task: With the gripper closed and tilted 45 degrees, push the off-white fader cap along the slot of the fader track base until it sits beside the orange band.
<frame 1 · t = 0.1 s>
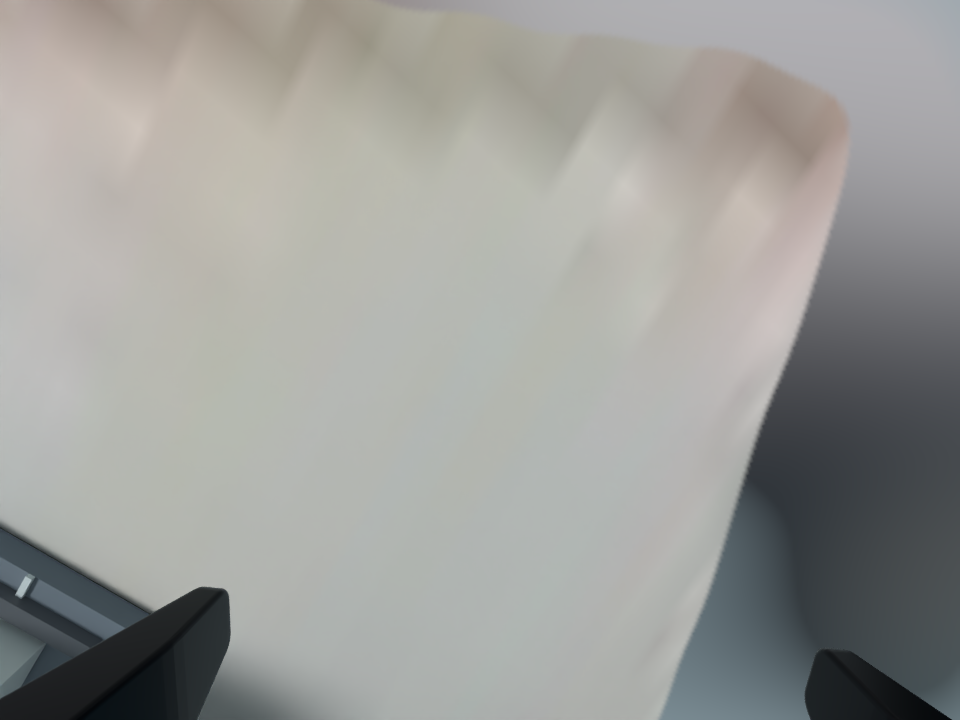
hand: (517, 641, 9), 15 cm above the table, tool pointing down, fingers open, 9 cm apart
fader track base: (11, 632, 27), on the table
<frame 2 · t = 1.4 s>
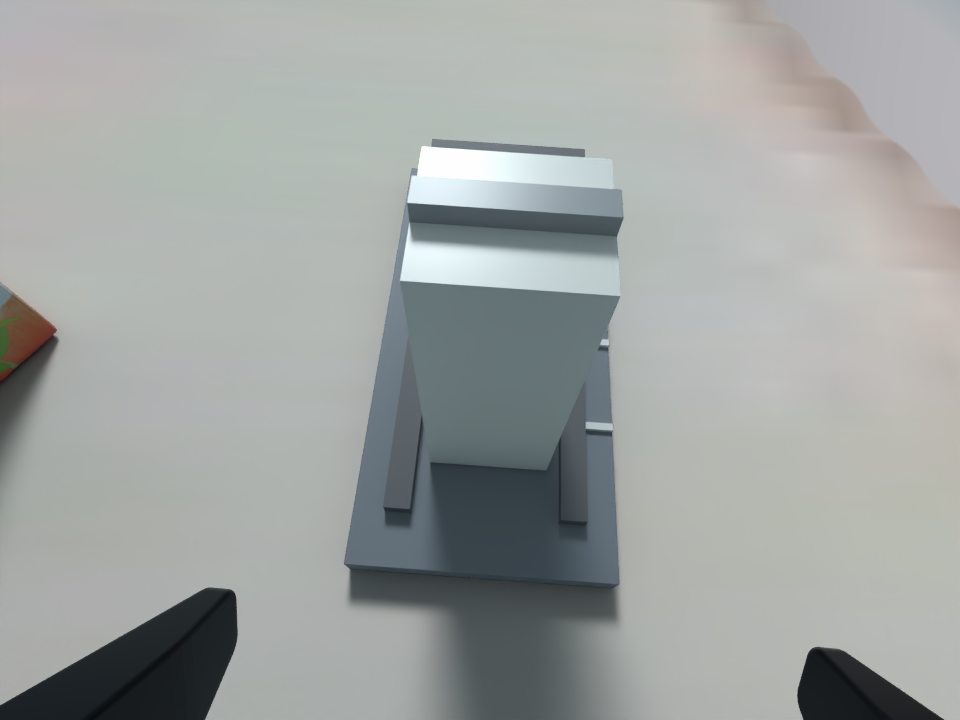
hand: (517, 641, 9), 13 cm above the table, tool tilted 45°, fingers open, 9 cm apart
fader track base: (489, 430, 24), on the table
fader cap: (499, 342, 18), point 8 cm above the table, slide at 0.0 cm
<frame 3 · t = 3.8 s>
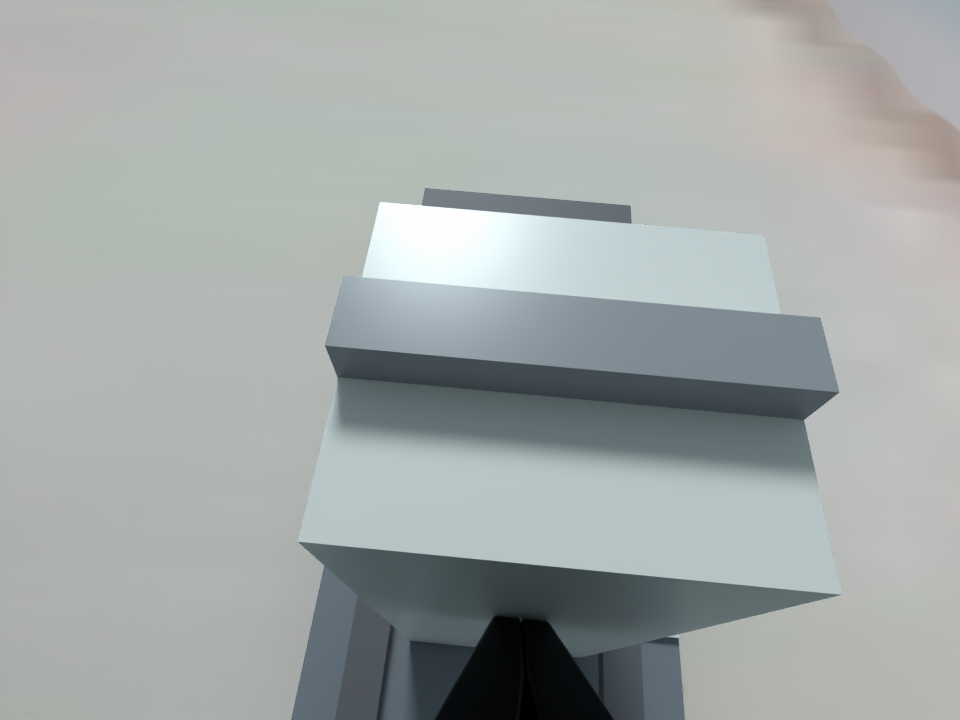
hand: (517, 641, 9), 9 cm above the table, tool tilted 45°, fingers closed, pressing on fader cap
fader track base: (494, 619, 17), on the table
fader cap: (519, 512, 11), point 8 cm above the table, slide at 1.1 cm, touching gripper
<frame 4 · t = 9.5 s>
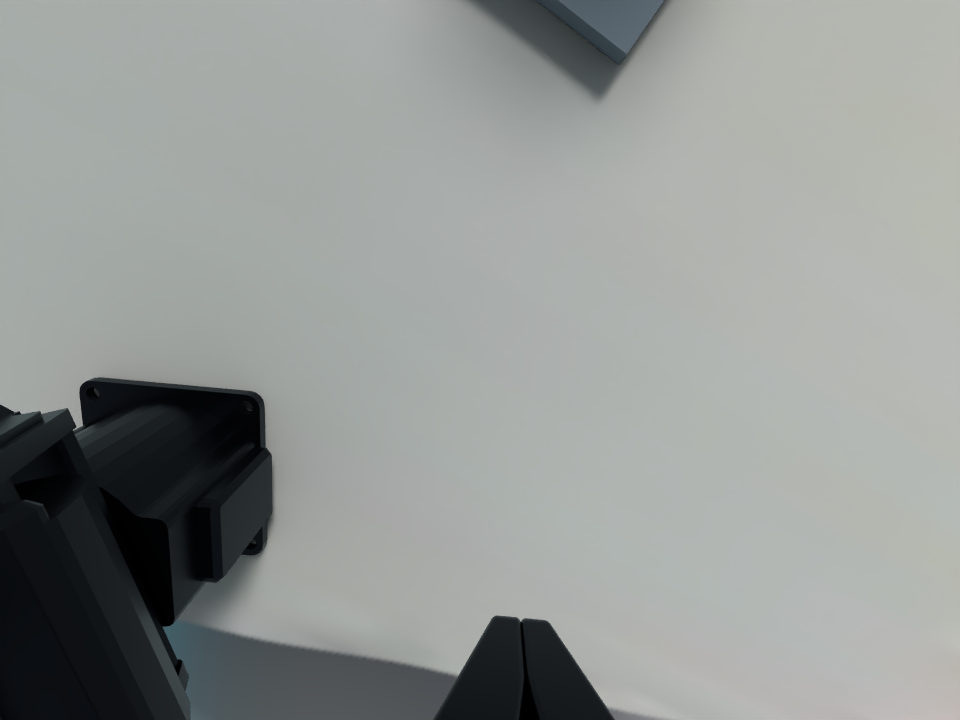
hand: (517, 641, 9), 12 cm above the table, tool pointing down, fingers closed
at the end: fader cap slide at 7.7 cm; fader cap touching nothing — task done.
